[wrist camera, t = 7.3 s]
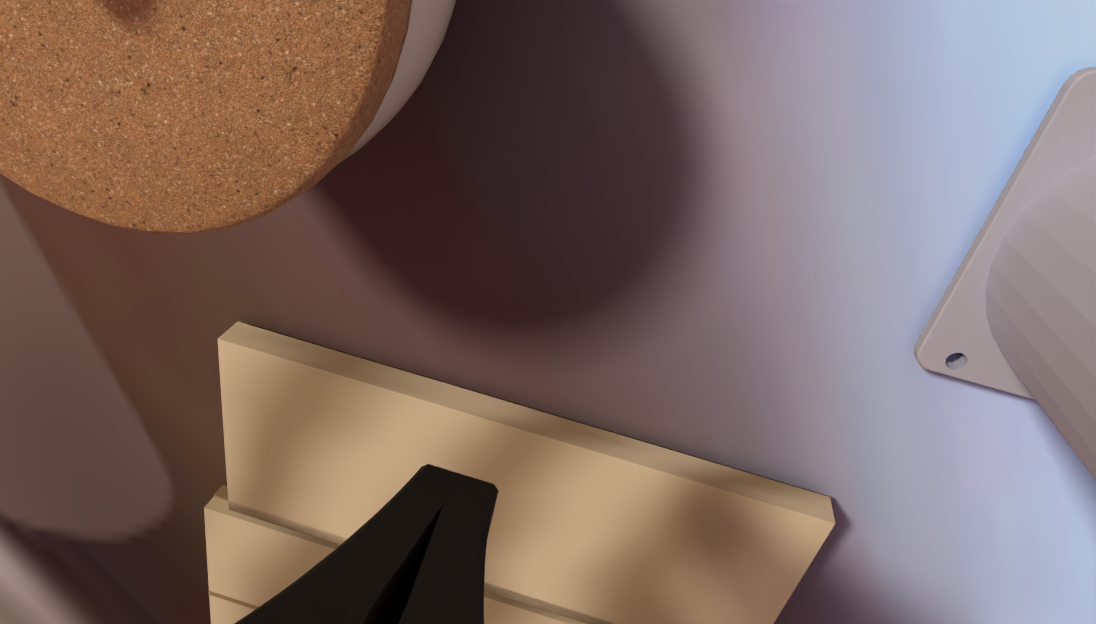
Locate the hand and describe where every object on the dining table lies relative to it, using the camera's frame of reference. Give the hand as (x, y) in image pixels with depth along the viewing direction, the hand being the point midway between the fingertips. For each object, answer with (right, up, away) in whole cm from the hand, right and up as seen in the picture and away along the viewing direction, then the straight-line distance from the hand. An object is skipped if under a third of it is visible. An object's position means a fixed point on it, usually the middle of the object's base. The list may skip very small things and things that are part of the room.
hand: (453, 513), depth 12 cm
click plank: (0, -3, +12) cm, 12 cm away
